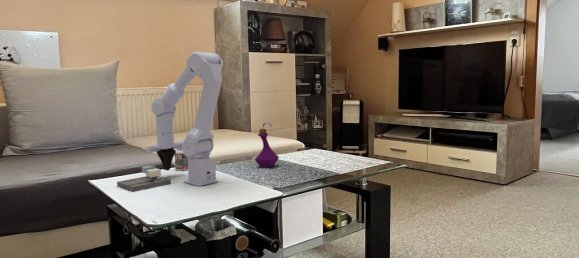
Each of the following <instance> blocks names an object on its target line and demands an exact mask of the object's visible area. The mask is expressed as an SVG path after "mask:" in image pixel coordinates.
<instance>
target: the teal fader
mask: <svg viewBox="0 0 579 258" xmlns="http://www.w3.org/2000/svg"><path fill="white" fill-rule="evenodd" d="M151 169H157V168H156V166H155V165H146V166H142V167H141V173H142V174H145V177H146V176H147V170H151Z"/></svg>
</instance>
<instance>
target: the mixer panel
mask: <svg viewBox="0 0 579 258" xmlns="http://www.w3.org/2000/svg"><path fill="white" fill-rule="evenodd" d="M171 180H172V179H170V178H166V177H164V176H157V179H155V180H151V177H148V176H146V175H145V176H141V177H135V178H130V179H124V180H121V181H116V184H117V185H116V187H118V188H120V189H124V190H127V191H129V192H138V191H143V190H147V189H148V190H149V189H151V188H157V187H162V186H167V185H171V184H172V181H171Z"/></svg>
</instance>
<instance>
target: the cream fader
mask: <svg viewBox="0 0 579 258" xmlns="http://www.w3.org/2000/svg"><path fill="white" fill-rule="evenodd" d="M161 171H162V170H161V169H160V168H156V169H151V170H147V176H148V177H151V180H155V179H157V176H160V177H162V172H161Z"/></svg>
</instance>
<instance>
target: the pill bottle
mask: <svg viewBox="0 0 579 258" xmlns="http://www.w3.org/2000/svg"><path fill="white" fill-rule="evenodd" d="M175 150H176V153H175V155H174V166H175V168H174V169H175V170H176V171H178V170H179V171H180V172H181V171H182V170H184V171H188V158H187V157H186V155H185V154H184V153H183V150H182V148H177V149H175ZM179 171H178V172H179ZM182 172H183V171H182Z"/></svg>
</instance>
